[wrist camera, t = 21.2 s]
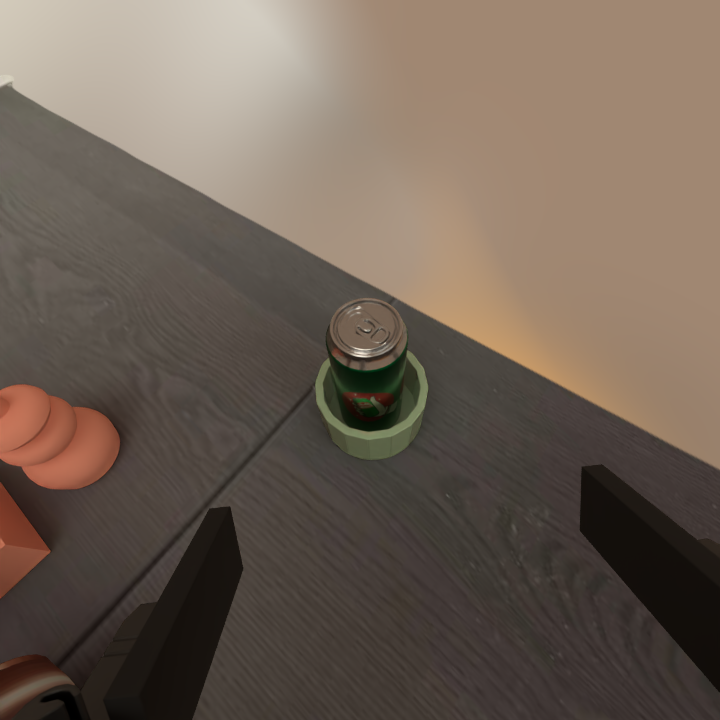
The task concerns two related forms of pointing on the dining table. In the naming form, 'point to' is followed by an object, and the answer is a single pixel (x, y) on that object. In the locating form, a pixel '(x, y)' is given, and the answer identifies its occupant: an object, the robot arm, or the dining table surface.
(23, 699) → the alarm clock
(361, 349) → the soda can
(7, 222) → the dining table surface
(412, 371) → the cup
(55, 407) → the pottery
